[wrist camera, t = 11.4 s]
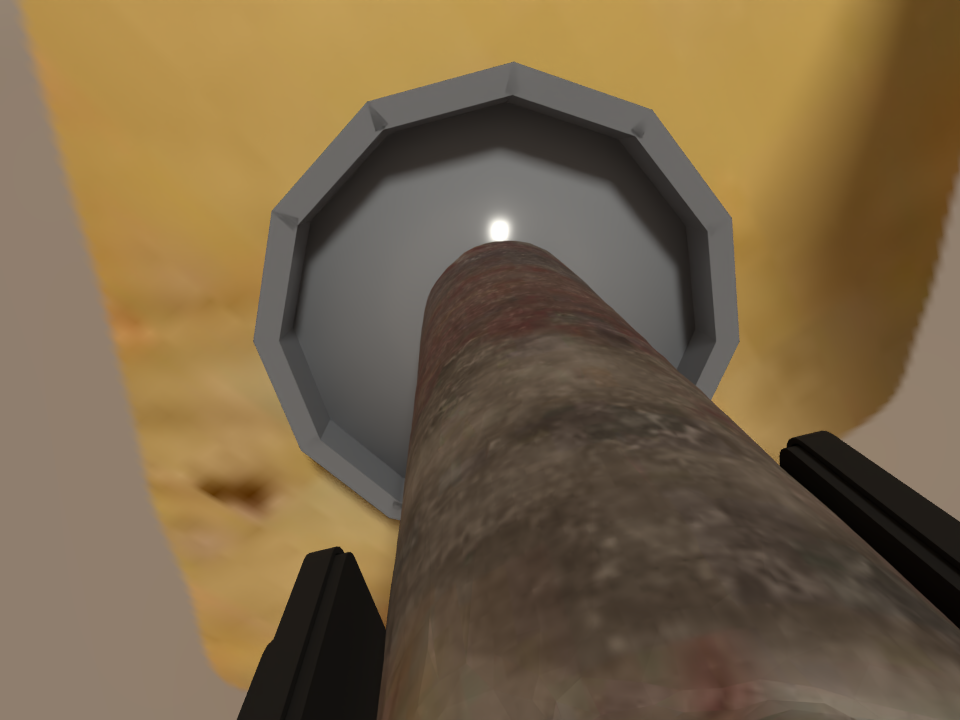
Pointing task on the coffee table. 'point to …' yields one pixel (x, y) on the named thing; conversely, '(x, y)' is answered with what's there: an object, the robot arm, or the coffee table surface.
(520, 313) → the mottled brown cylinder
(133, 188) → the coffee table surface
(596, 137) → the round tray
